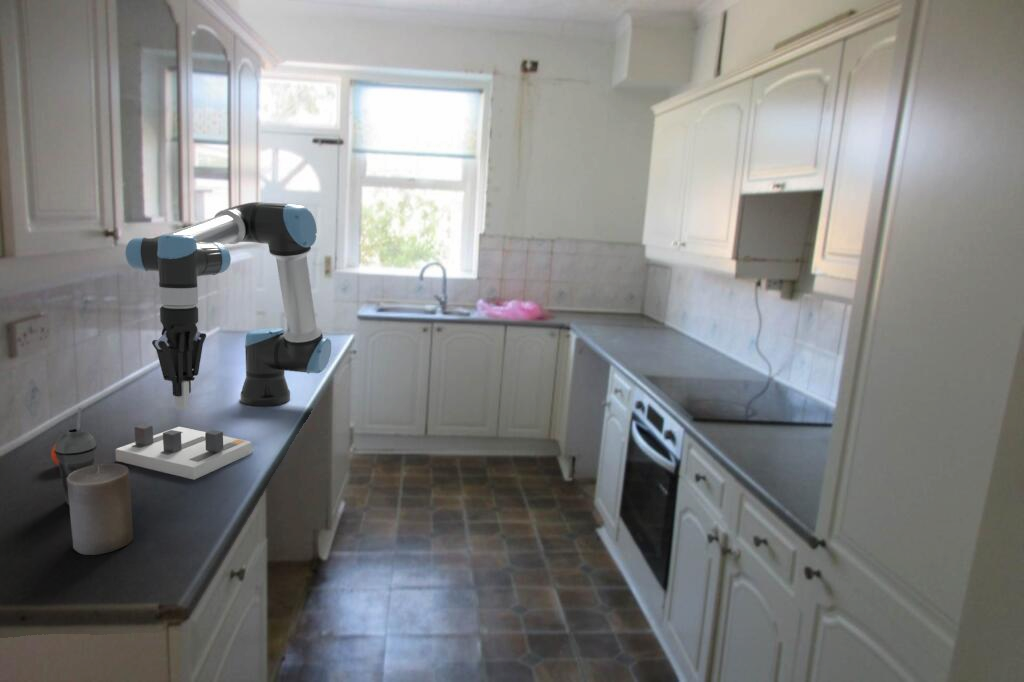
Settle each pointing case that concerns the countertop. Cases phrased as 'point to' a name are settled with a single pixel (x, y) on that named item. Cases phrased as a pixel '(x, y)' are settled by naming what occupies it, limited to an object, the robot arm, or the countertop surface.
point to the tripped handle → (214, 441)
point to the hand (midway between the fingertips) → (182, 408)
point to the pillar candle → (100, 508)
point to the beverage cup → (74, 452)
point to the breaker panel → (180, 451)
